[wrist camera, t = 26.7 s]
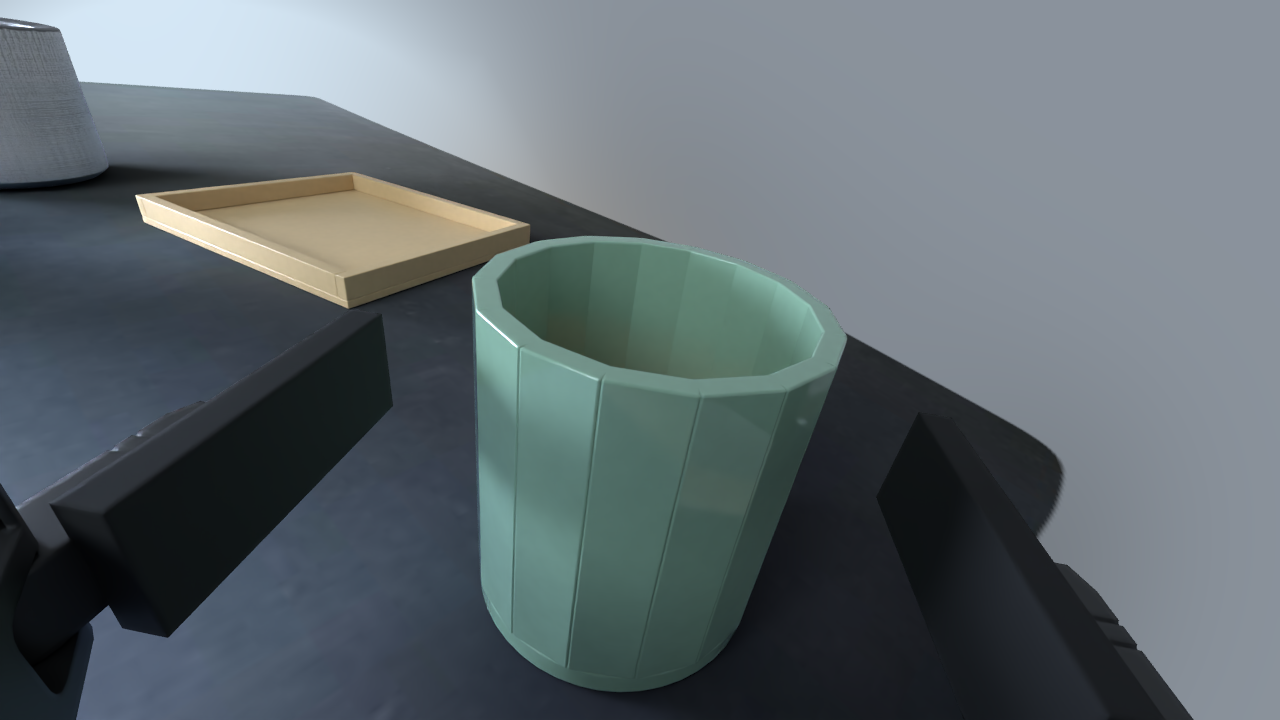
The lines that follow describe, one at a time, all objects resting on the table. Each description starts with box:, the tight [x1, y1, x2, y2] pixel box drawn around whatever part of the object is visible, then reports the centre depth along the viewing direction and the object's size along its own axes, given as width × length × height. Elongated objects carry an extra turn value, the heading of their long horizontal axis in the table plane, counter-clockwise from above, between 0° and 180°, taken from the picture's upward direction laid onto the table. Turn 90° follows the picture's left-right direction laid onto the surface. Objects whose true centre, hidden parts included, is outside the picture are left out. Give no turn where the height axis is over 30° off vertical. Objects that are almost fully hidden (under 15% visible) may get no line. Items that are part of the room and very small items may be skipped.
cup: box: [472, 236, 847, 692], centre depth 16 cm, size 9×9×10 cm
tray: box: [136, 172, 530, 309], centre depth 41 cm, size 22×18×2 cm
